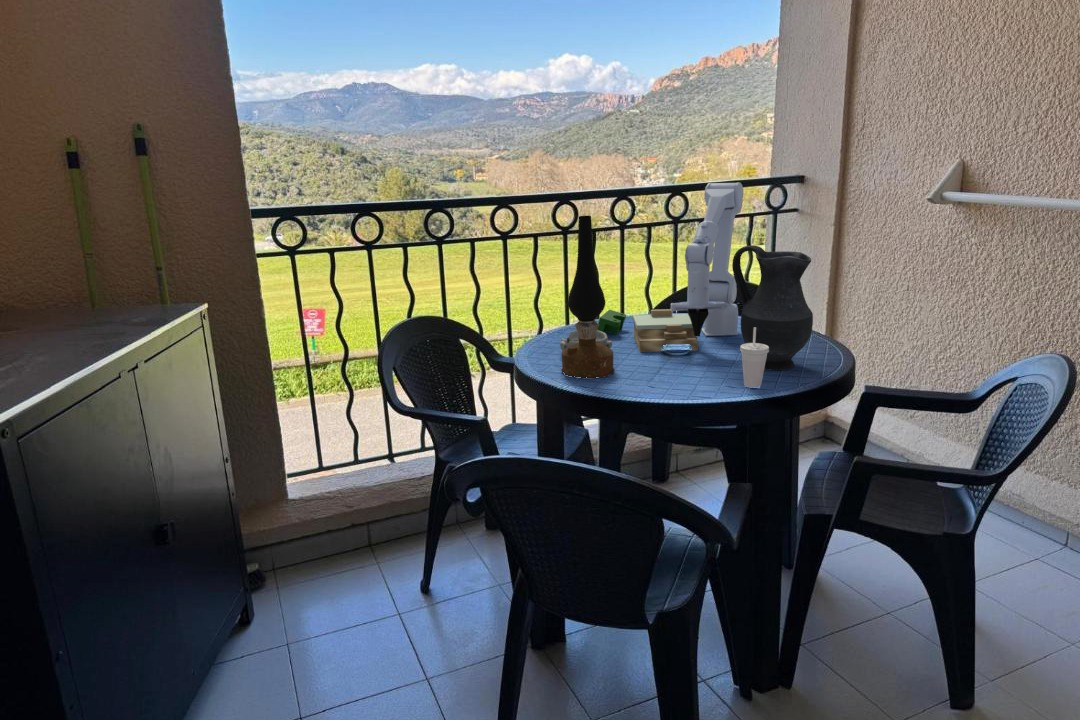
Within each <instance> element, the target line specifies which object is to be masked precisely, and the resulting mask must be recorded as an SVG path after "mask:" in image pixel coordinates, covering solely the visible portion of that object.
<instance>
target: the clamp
mask: <svg viewBox="0 0 1080 720" xmlns="http://www.w3.org/2000/svg"><path fill="white" fill-rule="evenodd" d="M626 319H627V314H625V313H623V312H619V311H616V310H612V309H608V310H607V311H606V312H605V313H603V314H602V315H601V316H600V317H599V320H598V322H597V323H598V324H599V327H598V329H597V330H598V331H601V332H604V333H605V334H607V333H610V334H613V335H615V336H616V335H618V334H619V331H622V330H623V326H624V322H625V321H626Z"/></svg>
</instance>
